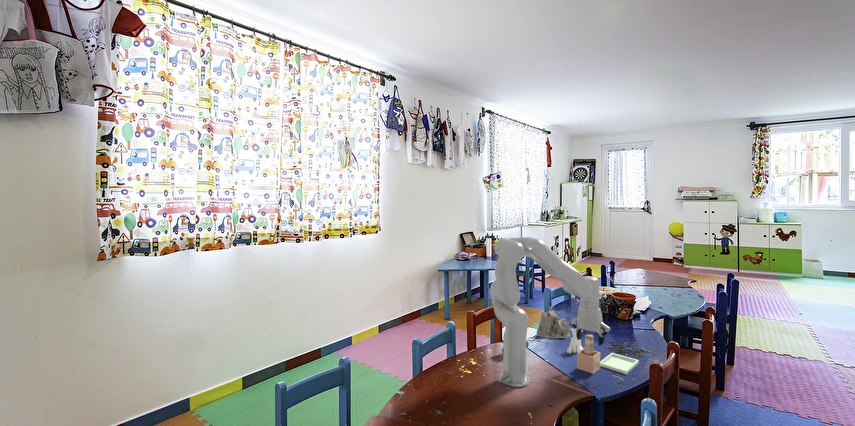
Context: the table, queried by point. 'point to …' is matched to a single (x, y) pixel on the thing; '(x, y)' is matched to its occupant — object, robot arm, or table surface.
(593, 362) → the pink open box
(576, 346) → the sitting furry creature
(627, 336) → the table surface
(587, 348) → the dowel
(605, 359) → the tray
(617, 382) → the table surface
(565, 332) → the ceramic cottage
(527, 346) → the figurine character
